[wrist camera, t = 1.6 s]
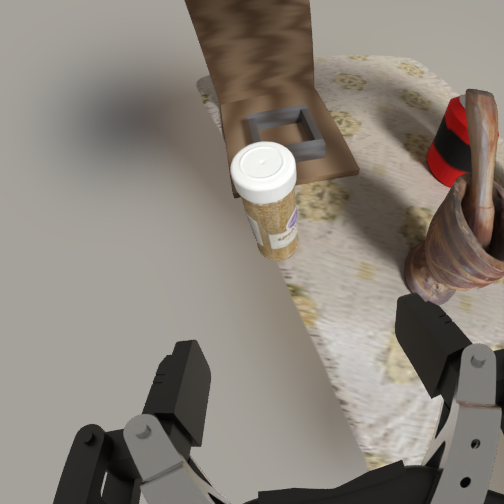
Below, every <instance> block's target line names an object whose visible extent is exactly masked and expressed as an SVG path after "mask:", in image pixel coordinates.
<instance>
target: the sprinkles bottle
mask: <svg viewBox="0 0 504 504" xmlns="http://www.w3.org/2000/svg"><path fill="white" fill-rule="evenodd" d="M230 172H231V176H232V180H233V183H234V186H235V188H236V190H237V192H238V193H239V195H240V196H241V197H242V200H243V204H244V207H245V211H246V214H247V217H248V220H249V222H250V225H251V228H252V231H253V233H254V236H255V238H256V240H257V242H258V243H257V244H258V248H259V250H260V252H261V253H262V254H263V255H264V257H266V258H268V259H270V260H273V261H280V260H284V259H287V258H289V257H290V256H291V255H292V254H293V253H294V252H295V251H296V249H297V247H298V236H297V207H296V201H295V187H294V186H295V183H296V163H295V159H294V156H293V154H292V153H291V152H290V151H289V150H288V149H287V148H286V147H284V146H283V145H281V144H278V143H275V142H257V143H253V144H250V145H248V146H246V147H244V148H243V149H241V150H240V151H239V152H238V153H237V154H236V155H235V156H234V158H233V160H232V163H231V167H230Z"/></svg>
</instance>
